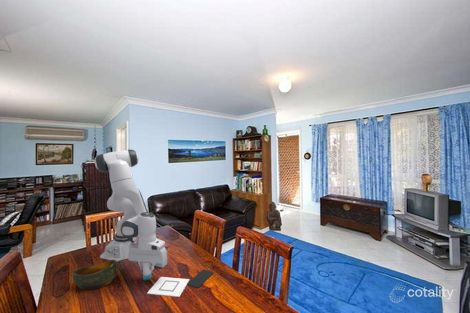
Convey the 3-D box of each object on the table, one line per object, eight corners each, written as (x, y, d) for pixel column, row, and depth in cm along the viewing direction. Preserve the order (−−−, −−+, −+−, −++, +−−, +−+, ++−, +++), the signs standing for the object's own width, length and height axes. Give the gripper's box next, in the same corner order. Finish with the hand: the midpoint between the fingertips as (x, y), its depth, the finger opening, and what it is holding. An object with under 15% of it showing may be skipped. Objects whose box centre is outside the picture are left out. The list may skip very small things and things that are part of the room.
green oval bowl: (104, 294, 94) (104, 273, 94) (68, 290, 97) (68, 269, 97) (124, 278, 106) (124, 259, 107) (92, 274, 110) (92, 256, 110)
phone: (214, 272, 112) (198, 287, 98) (214, 273, 112) (198, 289, 98) (203, 269, 115) (186, 283, 101) (203, 270, 115) (186, 285, 101)
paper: (147, 293, 95) (147, 292, 95) (160, 277, 108) (160, 276, 108) (179, 296, 92) (179, 296, 92) (189, 279, 105) (189, 279, 105)
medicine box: (167, 264, 121) (167, 249, 121) (162, 268, 116) (162, 253, 116) (156, 261, 123) (156, 247, 123) (151, 265, 119) (151, 251, 119)
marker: (141, 279, 105) (141, 261, 105) (145, 275, 109) (145, 257, 109) (148, 280, 105) (148, 262, 105) (152, 275, 109) (152, 258, 109)
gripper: (125, 244, 105) (125, 271, 105) (162, 247, 102) (161, 274, 102) (132, 239, 111) (132, 264, 111) (167, 242, 109) (167, 267, 109)
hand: (147, 269), depth 107 cm, fingers closed on marker, 4 cm apart
